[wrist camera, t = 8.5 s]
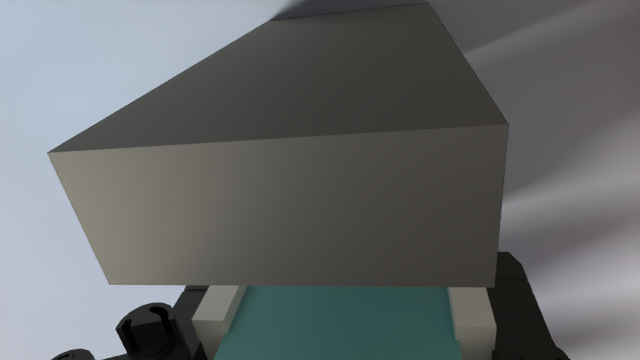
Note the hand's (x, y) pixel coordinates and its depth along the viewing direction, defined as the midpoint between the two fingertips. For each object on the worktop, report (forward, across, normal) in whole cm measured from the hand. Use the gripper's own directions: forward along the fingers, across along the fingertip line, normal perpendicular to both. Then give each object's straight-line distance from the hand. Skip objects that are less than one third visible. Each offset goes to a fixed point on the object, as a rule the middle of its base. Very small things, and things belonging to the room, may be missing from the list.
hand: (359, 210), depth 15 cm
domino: (+1, 0, +6) cm, 6 cm away
